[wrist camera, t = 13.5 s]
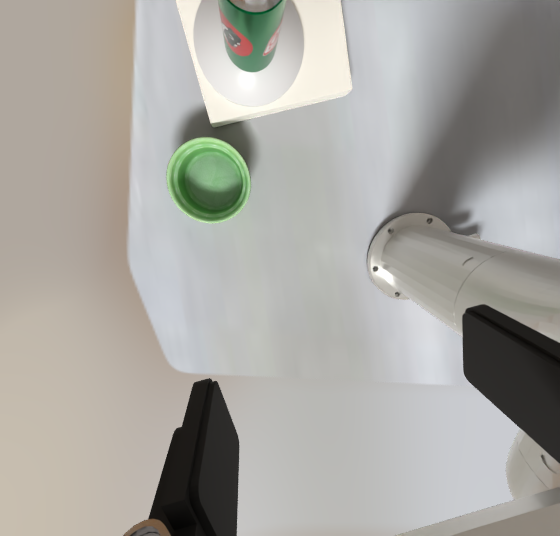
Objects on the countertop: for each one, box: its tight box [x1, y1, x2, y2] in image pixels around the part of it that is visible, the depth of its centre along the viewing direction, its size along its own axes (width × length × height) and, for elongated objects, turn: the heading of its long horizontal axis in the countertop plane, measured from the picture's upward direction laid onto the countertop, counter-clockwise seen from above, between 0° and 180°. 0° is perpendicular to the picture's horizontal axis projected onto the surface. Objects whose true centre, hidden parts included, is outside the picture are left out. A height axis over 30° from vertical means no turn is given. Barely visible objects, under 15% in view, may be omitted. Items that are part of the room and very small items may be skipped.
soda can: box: [218, 0, 287, 72], centre depth 22 cm, size 5×5×12 cm
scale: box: [176, 0, 352, 128], centre depth 29 cm, size 16×13×4 cm
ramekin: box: [167, 137, 251, 223], centre depth 32 cm, size 9×9×4 cm
